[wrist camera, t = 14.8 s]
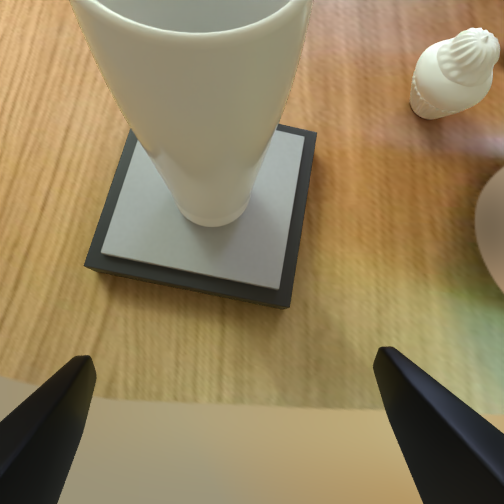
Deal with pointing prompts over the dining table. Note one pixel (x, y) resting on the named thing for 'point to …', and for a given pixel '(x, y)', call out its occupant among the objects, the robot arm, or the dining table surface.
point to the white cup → (200, 88)
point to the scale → (208, 228)
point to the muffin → (454, 74)
